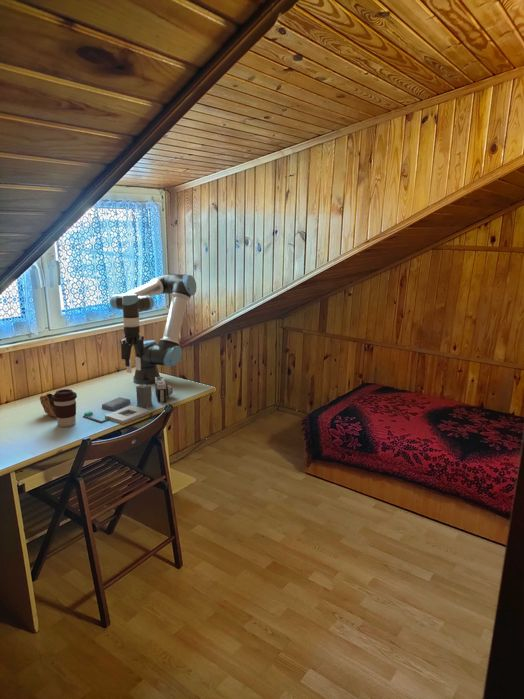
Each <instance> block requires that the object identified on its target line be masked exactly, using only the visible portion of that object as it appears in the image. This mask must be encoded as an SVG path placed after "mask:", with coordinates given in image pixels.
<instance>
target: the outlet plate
mask: <svg viewBox="0 0 524 699" xmlns="http://www.w3.org/2000/svg"><path fill="white" fill-rule="evenodd" d="M149 414H151V410H149V409H148V408H147V409H146V408H142V407H139V406H137V405H133V404H131V405H130V406H127V407H126V406H125V407H124V408H123V407H122V408H119V409H117V410H116V411H115V410H114V411H112V412H109V413H106V414H104V418H105V419H108V418H110V420H109V421H113V422H116V423H119V424H122V425H124V424H127V423H129V422H132V421H134V420H136V419H139V418H140V419H141V418H142V417H144V416H147V415H149Z"/></svg>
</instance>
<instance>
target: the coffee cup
mask: <svg viewBox="0 0 524 699" xmlns="http://www.w3.org/2000/svg"><path fill="white" fill-rule="evenodd" d="M77 398H78V395H77V393H76V392H75V391H73V390H72V389H69V388H68V389H67V388H65V389H64V388H63V389H59V390H57V391H55V393H54V394H52V400H53V401H54V409H55V415H56V417H57V418H56V417H55V418H56V422H57V426H58V427H62V428H66V427H67V428H68V427H72V426H73V425H75V424H76V421H77V420H76V418H77V417H76V414H77V401H76V399H77Z"/></svg>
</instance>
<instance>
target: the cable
mask: <svg viewBox="0 0 524 699" xmlns="http://www.w3.org/2000/svg"><path fill="white" fill-rule="evenodd" d="M93 415H94V413H93V411H91V410H89V411H87V412H84V413H83V415H82V418H85V419H88V420H91V421H94V422H96V423H100V424H103V423H106V422H108V421H111V420H110V418H108V419H106V418H105V419H103V420H100V419H97V418H94V417H91V416H93Z"/></svg>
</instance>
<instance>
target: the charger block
mask: <svg viewBox="0 0 524 699" xmlns="http://www.w3.org/2000/svg"><path fill="white" fill-rule="evenodd" d="M135 388H136V389H135V390H136V406H137V407H140V408H144V409H146V408H148V407H151V406H153V401H152V400H153V397H152V396H153V395H152V394H153V393H152V385H151V384H138V385H136V387H135Z"/></svg>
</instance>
